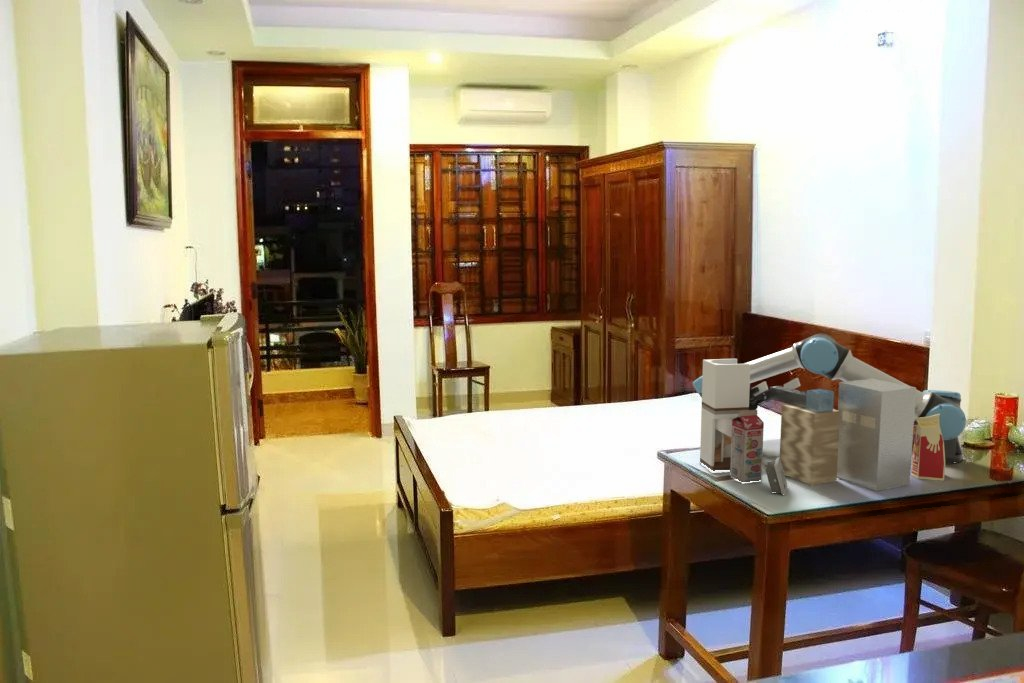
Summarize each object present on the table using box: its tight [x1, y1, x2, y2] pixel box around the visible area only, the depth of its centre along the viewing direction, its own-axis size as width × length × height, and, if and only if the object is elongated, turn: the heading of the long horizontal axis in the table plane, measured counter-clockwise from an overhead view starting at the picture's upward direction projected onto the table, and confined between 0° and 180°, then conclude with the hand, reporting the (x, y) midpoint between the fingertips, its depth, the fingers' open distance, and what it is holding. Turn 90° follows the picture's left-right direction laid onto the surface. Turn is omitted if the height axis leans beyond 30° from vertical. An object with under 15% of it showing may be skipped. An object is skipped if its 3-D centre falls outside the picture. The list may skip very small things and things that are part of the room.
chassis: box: [837, 379, 917, 492], centre depth 245 cm, size 16×14×30 cm
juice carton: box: [729, 409, 765, 482], centre depth 247 cm, size 7×7×22 cm
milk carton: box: [910, 414, 946, 482], centre depth 250 cm, size 9×9×20 cm
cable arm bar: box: [769, 385, 835, 413], centre depth 252 cm, size 22×6×6 cm, turn 24°
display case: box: [699, 358, 751, 471], centre depth 259 cm, size 11×11×35 cm
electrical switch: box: [764, 457, 788, 495], centre depth 238 cm, size 9×5×9 cm, turn 157°
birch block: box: [779, 403, 840, 486], centre depth 250 cm, size 14×10×22 cm
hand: (782, 383), depth 258 cm, fingers open, 13 cm apart
